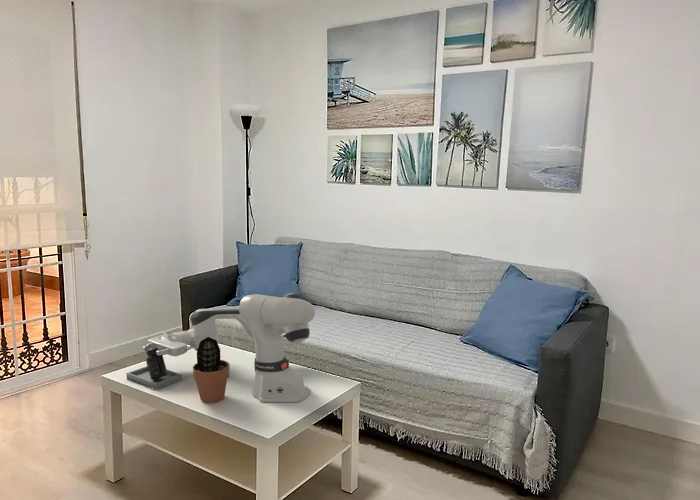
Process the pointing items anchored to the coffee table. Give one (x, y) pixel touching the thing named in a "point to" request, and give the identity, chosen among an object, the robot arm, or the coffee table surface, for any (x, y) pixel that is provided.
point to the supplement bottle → (155, 364)
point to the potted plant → (210, 371)
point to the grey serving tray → (144, 379)
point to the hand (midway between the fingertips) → (150, 351)
